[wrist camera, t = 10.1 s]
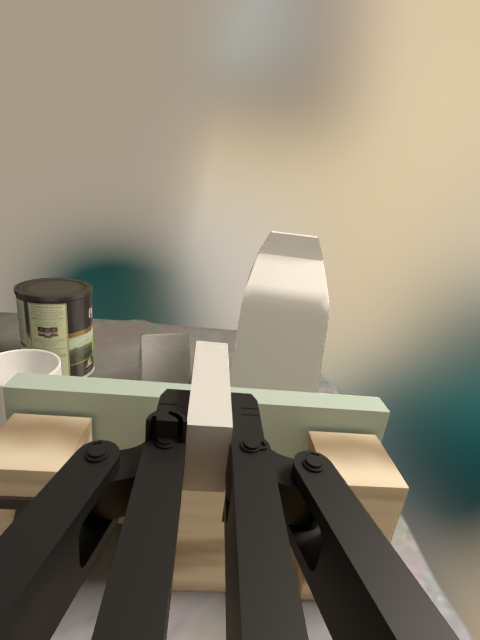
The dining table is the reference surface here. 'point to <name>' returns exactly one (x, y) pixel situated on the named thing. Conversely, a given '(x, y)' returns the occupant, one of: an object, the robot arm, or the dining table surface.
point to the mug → (25, 368)
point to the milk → (283, 317)
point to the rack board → (143, 396)
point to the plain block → (200, 543)
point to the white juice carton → (164, 358)
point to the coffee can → (58, 321)
